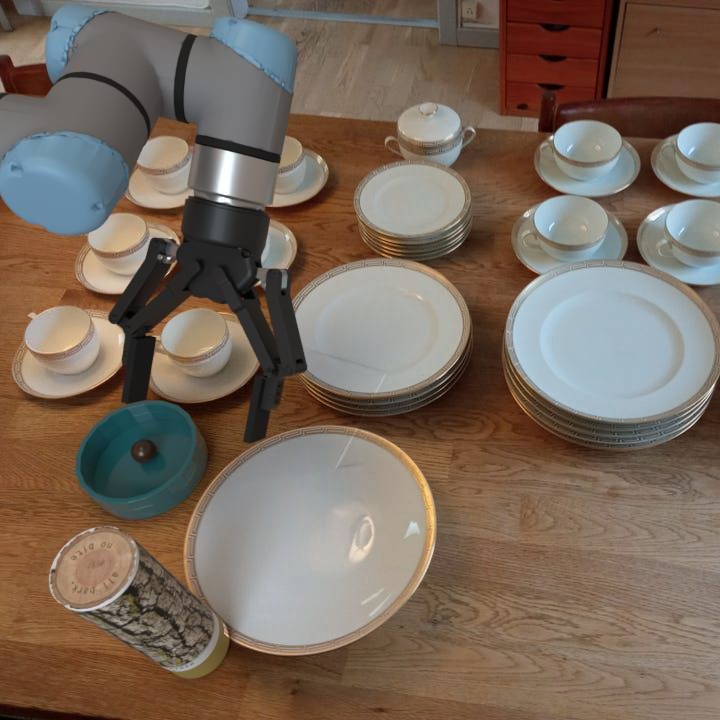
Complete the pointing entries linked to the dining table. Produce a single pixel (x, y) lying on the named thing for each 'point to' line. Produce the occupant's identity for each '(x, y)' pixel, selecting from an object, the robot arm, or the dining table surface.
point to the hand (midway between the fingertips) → (192, 420)
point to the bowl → (142, 480)
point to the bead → (144, 451)
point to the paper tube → (137, 602)
